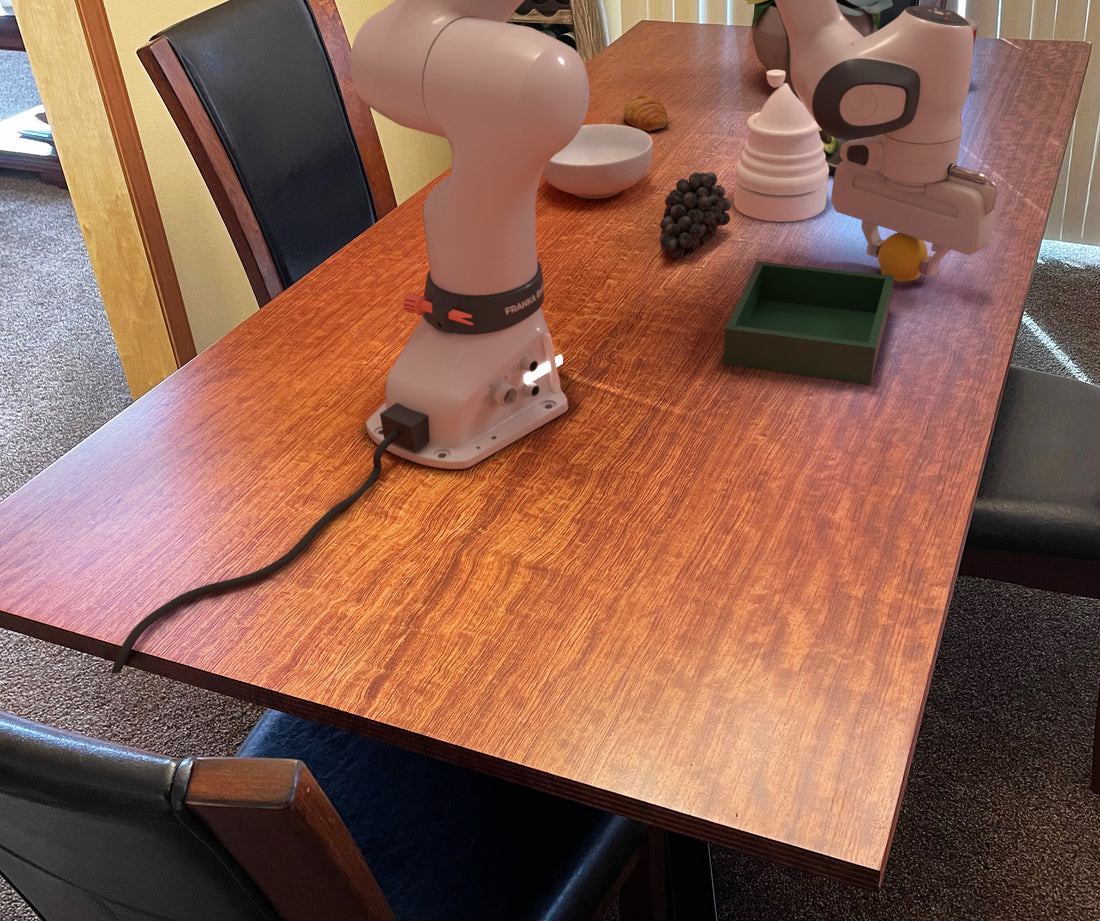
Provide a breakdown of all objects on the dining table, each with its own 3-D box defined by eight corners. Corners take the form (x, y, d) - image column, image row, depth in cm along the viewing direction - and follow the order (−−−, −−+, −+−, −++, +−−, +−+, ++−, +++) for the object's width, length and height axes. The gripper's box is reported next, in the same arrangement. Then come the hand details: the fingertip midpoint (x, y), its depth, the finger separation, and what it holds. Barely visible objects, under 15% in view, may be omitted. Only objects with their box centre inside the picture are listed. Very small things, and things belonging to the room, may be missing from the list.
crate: (869, 391, 117) (875, 347, 114) (722, 370, 122) (724, 328, 119) (888, 316, 130) (894, 275, 127) (754, 300, 135) (757, 260, 132)
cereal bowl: (609, 159, 175) (608, 114, 171) (675, 190, 163) (676, 144, 159) (518, 186, 168) (515, 141, 163) (581, 221, 156) (579, 173, 152)
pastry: (677, 129, 184) (677, 106, 182) (639, 136, 182) (639, 113, 180) (655, 112, 191) (655, 90, 189) (619, 118, 190) (618, 96, 187)
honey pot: (716, 208, 157) (721, 80, 147) (763, 178, 165) (771, 55, 155) (797, 229, 150) (808, 96, 140) (842, 197, 158) (856, 69, 148)
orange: (924, 290, 135) (932, 237, 131) (874, 287, 136) (881, 234, 132) (923, 269, 139) (932, 217, 135) (875, 266, 141) (882, 214, 136)
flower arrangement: (880, 66, 205) (897, -78, 191) (881, 111, 186) (901, -46, 171) (744, 64, 211) (751, -77, 196) (732, 107, 191) (739, -45, 177)
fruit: (680, 203, 137) (728, 158, 147) (624, 213, 142) (674, 169, 152) (699, 267, 141) (745, 219, 151) (644, 274, 146) (692, 227, 156)
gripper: (1015, 169, 123) (992, 281, 132) (860, 128, 136) (849, 232, 144) (984, 186, 120) (963, 300, 128) (829, 142, 133) (819, 248, 141)
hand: (901, 264), depth 136 cm, fingers open, 6 cm apart
